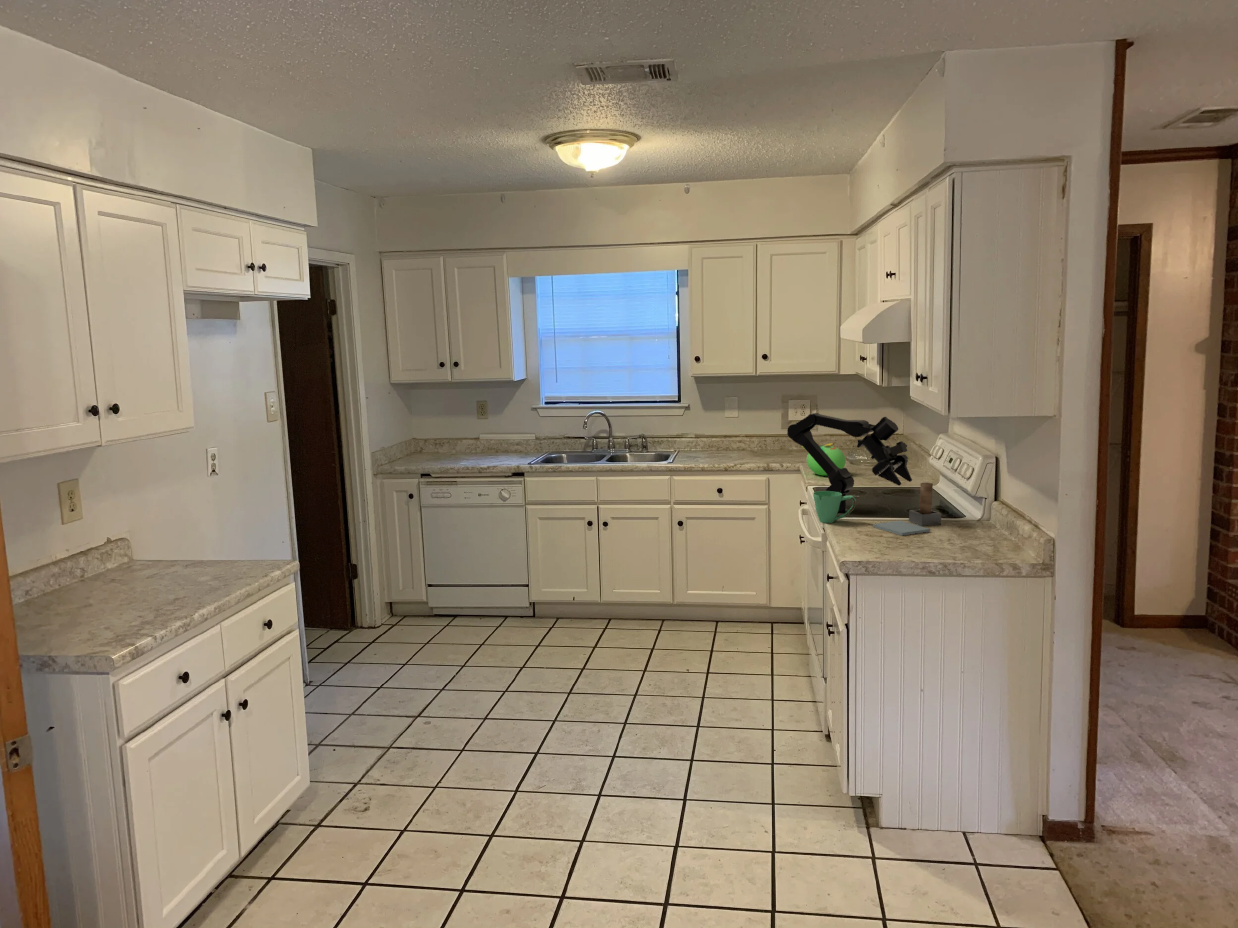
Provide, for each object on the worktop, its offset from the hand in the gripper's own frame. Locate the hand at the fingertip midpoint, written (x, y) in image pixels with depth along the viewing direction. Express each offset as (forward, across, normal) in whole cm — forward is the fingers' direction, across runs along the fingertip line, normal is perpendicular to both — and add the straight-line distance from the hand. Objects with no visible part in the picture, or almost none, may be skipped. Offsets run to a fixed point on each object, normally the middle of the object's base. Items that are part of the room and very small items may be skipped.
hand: (905, 482), depth 309 cm
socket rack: (+15, 0, +4) cm, 15 cm away
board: (+13, -14, +6) cm, 20 cm away
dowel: (+15, 0, +4) cm, 15 cm away
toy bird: (-36, +65, +56) cm, 93 cm away
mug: (-3, -17, +22) cm, 29 cm away
